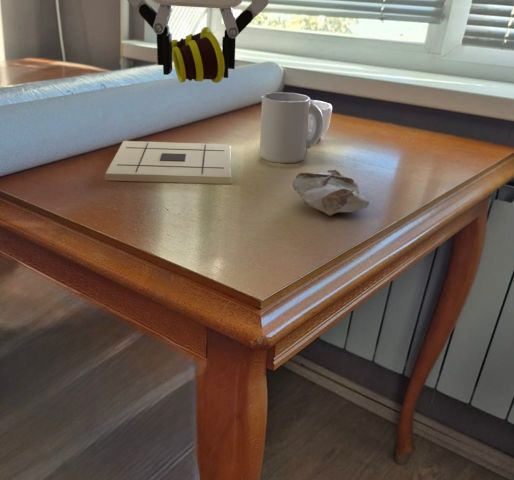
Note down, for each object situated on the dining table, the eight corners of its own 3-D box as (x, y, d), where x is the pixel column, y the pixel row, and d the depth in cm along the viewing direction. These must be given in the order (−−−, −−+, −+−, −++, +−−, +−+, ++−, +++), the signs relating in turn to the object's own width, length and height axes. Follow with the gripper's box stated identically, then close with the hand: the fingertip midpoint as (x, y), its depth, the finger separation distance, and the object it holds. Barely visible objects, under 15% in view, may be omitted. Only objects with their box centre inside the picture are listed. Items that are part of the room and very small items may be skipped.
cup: (253, 151, 98) (255, 92, 93) (311, 149, 100) (316, 91, 95) (268, 164, 92) (271, 102, 87) (328, 161, 95) (335, 101, 90)
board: (105, 180, 82) (105, 172, 82) (123, 147, 97) (123, 140, 96) (231, 184, 83) (231, 176, 83) (230, 150, 98) (230, 143, 97)
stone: (284, 188, 83) (285, 164, 81) (348, 187, 84) (351, 163, 83) (305, 221, 73) (308, 194, 71) (377, 218, 75) (381, 192, 73)
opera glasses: (177, 77, 73) (168, 31, 70) (220, 69, 73) (212, 23, 70) (179, 93, 65) (169, 42, 62) (228, 84, 65) (219, 33, 62)
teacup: (286, 130, 111) (289, 98, 108) (329, 132, 110) (332, 101, 107) (283, 144, 102) (285, 110, 99) (329, 147, 102) (332, 113, 99)
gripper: (98, -139, 55) (114, 76, 65) (287, -126, 56) (274, 84, 66) (113, -130, 61) (125, 65, 71) (282, -118, 62) (271, 73, 72)
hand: (196, 72), depth 68 cm, fingers closed on opera glasses, 5 cm apart
